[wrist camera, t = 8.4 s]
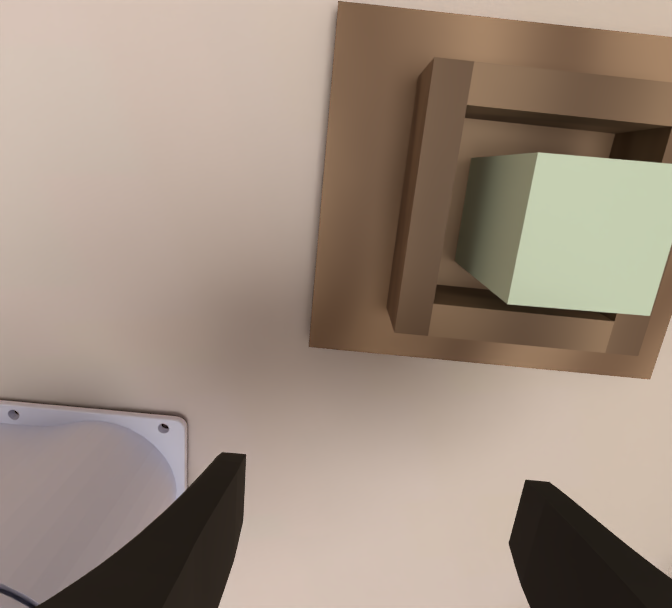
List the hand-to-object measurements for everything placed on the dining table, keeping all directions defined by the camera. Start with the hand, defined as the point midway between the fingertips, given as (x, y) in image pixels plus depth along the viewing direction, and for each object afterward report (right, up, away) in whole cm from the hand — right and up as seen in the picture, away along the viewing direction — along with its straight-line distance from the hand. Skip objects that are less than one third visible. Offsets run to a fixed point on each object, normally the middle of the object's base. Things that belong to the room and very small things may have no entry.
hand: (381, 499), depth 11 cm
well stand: (+6, +9, +7) cm, 13 cm away
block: (+6, +8, +6) cm, 12 cm away
